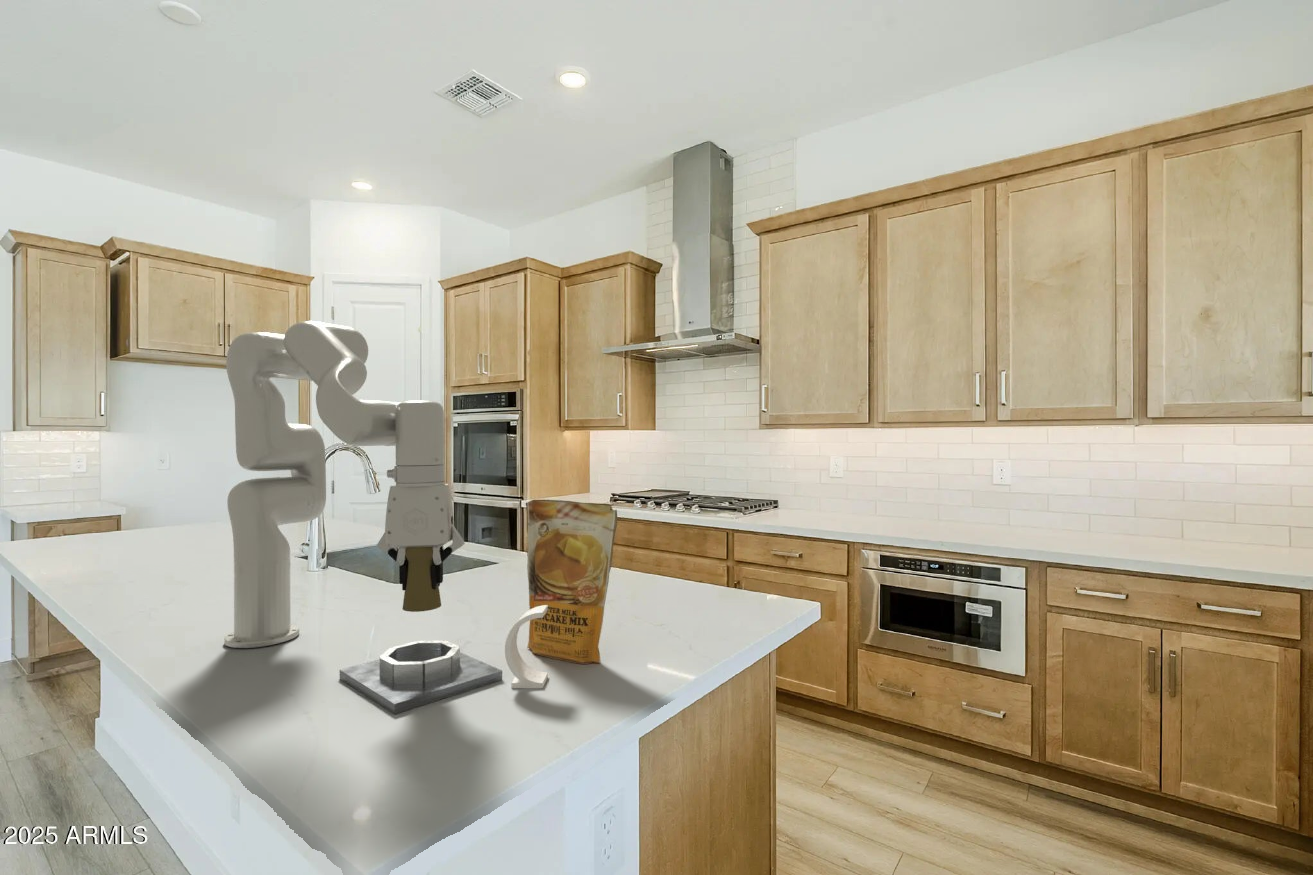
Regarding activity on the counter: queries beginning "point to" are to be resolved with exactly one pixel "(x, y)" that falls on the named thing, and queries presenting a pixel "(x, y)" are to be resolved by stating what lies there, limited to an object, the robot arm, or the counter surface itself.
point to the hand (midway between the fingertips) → (421, 586)
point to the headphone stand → (518, 667)
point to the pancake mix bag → (569, 576)
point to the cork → (420, 581)
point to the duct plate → (418, 691)
